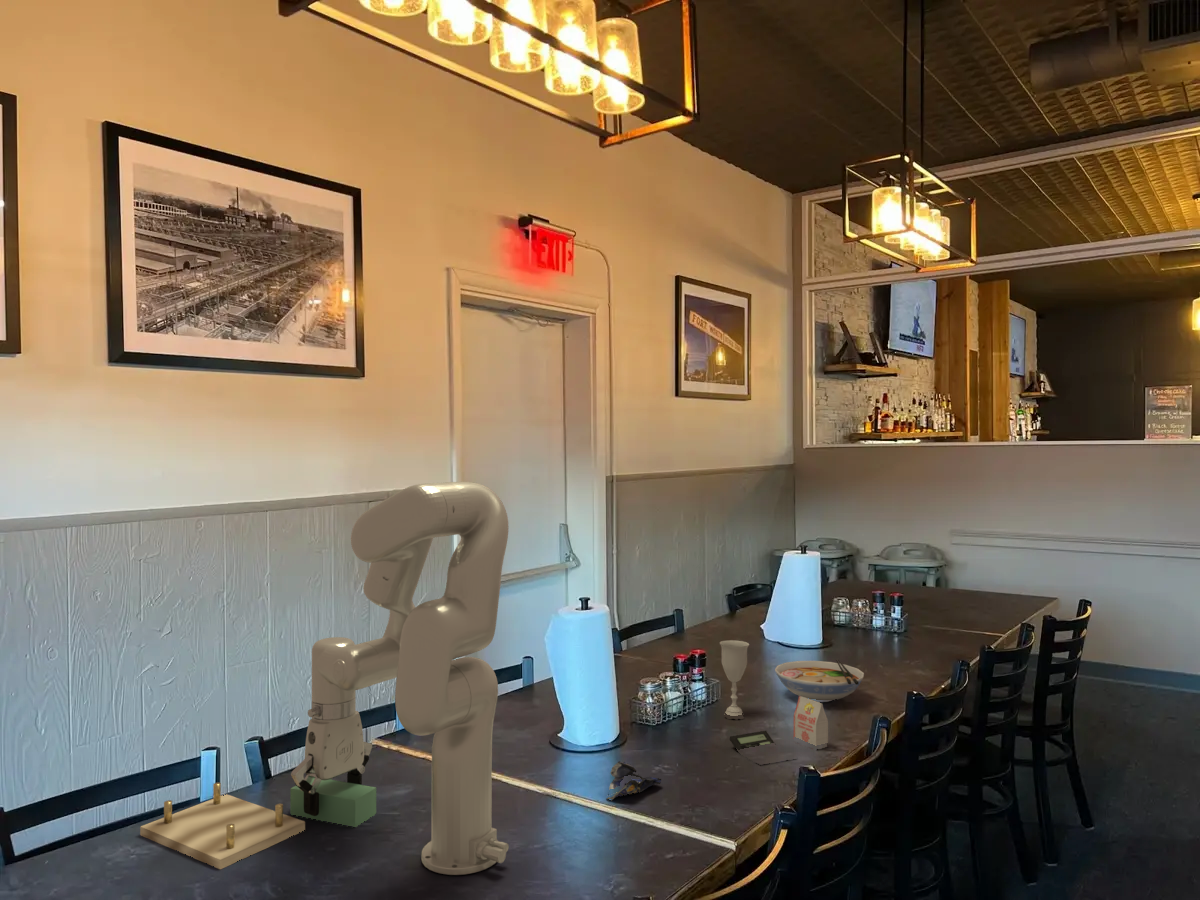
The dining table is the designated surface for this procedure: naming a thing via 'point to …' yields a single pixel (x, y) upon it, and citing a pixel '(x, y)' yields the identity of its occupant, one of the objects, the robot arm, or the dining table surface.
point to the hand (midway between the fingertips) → (333, 804)
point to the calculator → (751, 740)
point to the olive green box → (338, 802)
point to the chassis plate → (222, 829)
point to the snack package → (632, 786)
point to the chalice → (734, 668)
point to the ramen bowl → (819, 679)
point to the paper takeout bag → (810, 722)
